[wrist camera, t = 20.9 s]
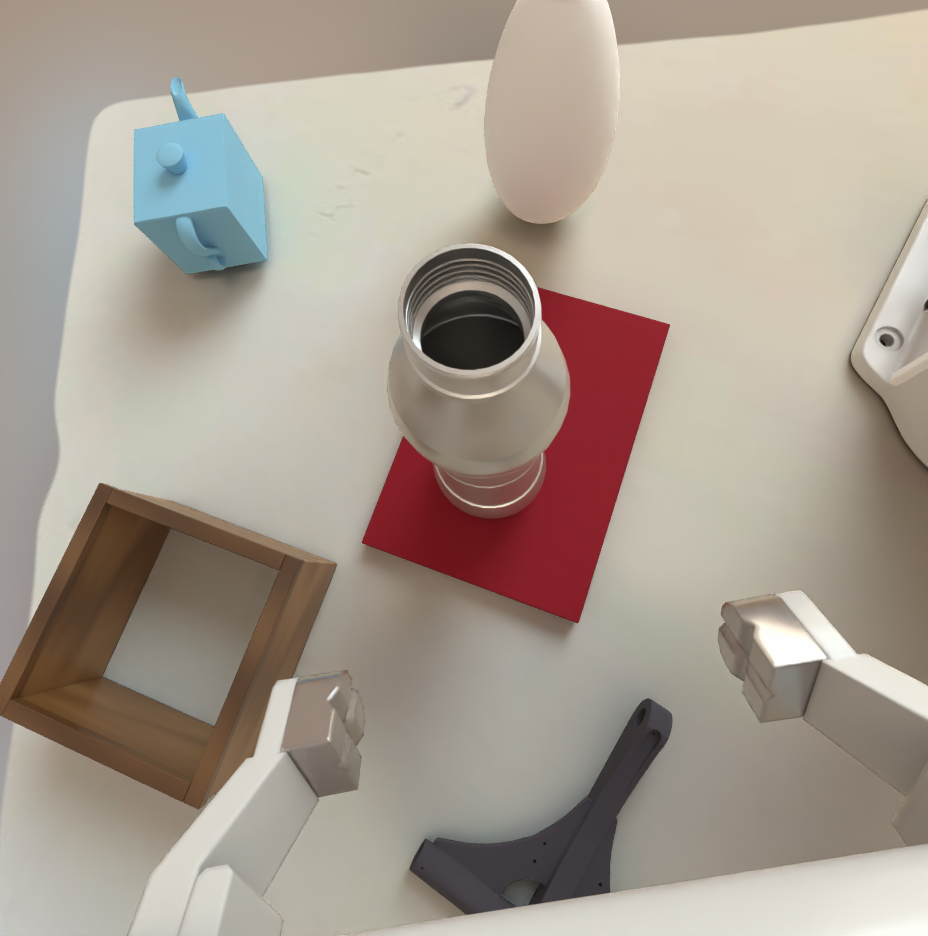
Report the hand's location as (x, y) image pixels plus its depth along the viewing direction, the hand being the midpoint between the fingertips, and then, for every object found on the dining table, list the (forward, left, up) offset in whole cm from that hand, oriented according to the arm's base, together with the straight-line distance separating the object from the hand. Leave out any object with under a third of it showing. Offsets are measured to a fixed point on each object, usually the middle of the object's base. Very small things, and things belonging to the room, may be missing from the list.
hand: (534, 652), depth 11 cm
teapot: (-19, -29, -21) cm, 41 cm away
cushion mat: (-10, -3, -21) cm, 24 cm away
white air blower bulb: (-27, -7, -21) cm, 35 cm away
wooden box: (+8, -18, -21) cm, 29 cm away
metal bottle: (-7, -4, -20) cm, 22 cm away
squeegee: (+10, +8, -21) cm, 25 cm away
